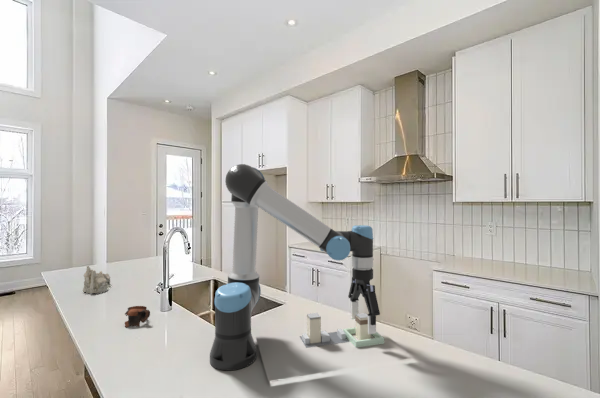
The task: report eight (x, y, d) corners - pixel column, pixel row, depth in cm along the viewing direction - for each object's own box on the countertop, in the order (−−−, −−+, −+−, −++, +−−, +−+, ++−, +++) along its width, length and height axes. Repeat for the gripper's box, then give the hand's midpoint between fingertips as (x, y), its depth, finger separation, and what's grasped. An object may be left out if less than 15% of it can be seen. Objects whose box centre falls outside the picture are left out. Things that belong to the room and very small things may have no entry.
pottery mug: (117, 328, 127) (120, 307, 131) (134, 330, 135) (137, 310, 139) (141, 323, 125) (144, 302, 129) (158, 325, 133) (159, 305, 137)
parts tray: (355, 350, 107) (355, 341, 107) (343, 337, 117) (343, 328, 117) (384, 346, 109) (384, 337, 109) (369, 333, 120) (369, 325, 120)
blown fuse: (360, 343, 111) (360, 318, 111) (355, 338, 115) (355, 313, 115) (370, 342, 112) (370, 316, 112) (365, 336, 116) (365, 312, 116)
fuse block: (306, 351, 107) (306, 341, 107) (299, 339, 115) (299, 331, 115) (349, 345, 111) (349, 336, 111) (339, 334, 119) (339, 326, 119)
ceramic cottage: (91, 295, 170) (92, 267, 171) (77, 291, 178) (78, 265, 180) (120, 289, 183) (121, 264, 184) (106, 286, 192) (107, 262, 193)
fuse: (310, 343, 110) (310, 317, 110) (307, 338, 113) (306, 313, 113) (320, 342, 111) (320, 316, 111) (317, 337, 114) (317, 312, 114)
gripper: (390, 275, 102) (390, 339, 102) (357, 260, 126) (357, 312, 126) (369, 276, 100) (370, 342, 100) (340, 261, 124) (340, 314, 124)
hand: (362, 325), depth 113 cm, fingers open, 13 cm apart
